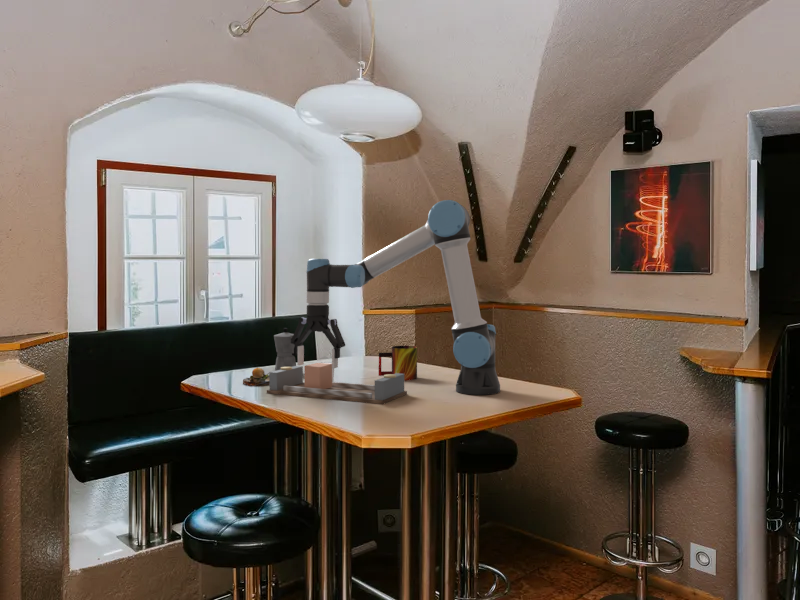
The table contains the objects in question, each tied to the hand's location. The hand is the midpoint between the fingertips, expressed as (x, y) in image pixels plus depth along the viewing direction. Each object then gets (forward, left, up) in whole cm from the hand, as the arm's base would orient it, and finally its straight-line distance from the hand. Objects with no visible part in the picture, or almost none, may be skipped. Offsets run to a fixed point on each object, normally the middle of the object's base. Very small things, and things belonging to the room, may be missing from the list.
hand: (317, 366), depth 235 cm
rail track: (-7, 0, -9) cm, 11 cm away
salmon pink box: (0, 0, -7) cm, 8 cm away
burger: (+29, -6, -9) cm, 31 cm away
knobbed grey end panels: (-7, 0, -8) cm, 11 cm away
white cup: (+8, -18, -9) cm, 22 cm away
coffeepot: (+33, -30, -9) cm, 45 cm away
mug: (-14, -36, -9) cm, 40 cm away
